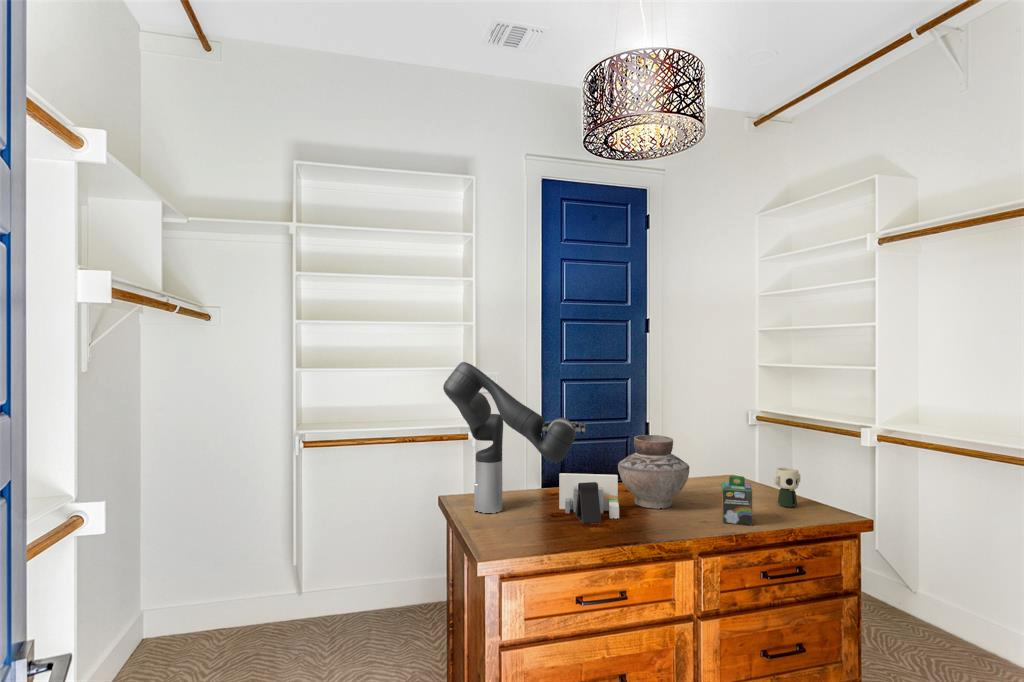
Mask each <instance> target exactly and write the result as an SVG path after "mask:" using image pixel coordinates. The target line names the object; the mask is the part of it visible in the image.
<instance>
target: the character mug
mask: <svg viewBox="0 0 1024 682" xmlns="http://www.w3.org/2000/svg"><path fill="white" fill-rule="evenodd" d="M773 480H774V485H776V486H777V487H778V488H780V489H779V491H778V497H777V498H778V499H777V504H779V505H781V506H782V507H787V508H789V507H790V508H794V507H798V501H797V493H796V491H795V490H797V489H798V488H799V486H800V485H799V484H800V483H801V474H800V473H799V470H798V469H796V468H793V467H785V466H784V467H777V468H776V473H775V475H774V479H773Z"/></svg>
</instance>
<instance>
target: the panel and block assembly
mask: <svg viewBox="0 0 1024 682" xmlns="http://www.w3.org/2000/svg"><path fill="white" fill-rule="evenodd" d="M558 474H559V475H558V476H559V477H558V478H559V479H558V480H559V486H558V487H559V489H558V491H559V493H558V494H559V495H558V497H559V499H558V501H559V502H558V503H559V505H558V506H559V507H558V508H559V510H564V511H565V512H564V513H565V514H571V510H573V511H574V487H578V484H579V483H587V482H596V483H598V487H602V488H603V495H607V496H618V498H603V512H604V511H606V512H608V515H609V519H613V518H614V519H617V518H618V519H620V505H619V504H620V503H619V494H618V491H619V490H618V489H619V486H618V485H619V483H618V481H619V480H618V479H619V476H618V474H604V473H603V474H599V473H598V474H594V473H564V472H563V473H562V472H560V473H558Z"/></svg>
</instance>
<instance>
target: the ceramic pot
mask: <svg viewBox="0 0 1024 682" xmlns="http://www.w3.org/2000/svg"><path fill="white" fill-rule="evenodd" d="M673 446H674V439H673V437H668V436H664V435H660V434H659V435H657V434H643V435H641V434H640V435H636V436H634V437H633V449H634V451H635V452H634V453H631V454H630V455H628V456H626V457H625V458H624V459H622V460H620V461H619V462H618V464H617V471H618V473H619V475H620V476H619V477H620V480H621V481H622V483H623V485H624V486H625V488H626V489H627V490H628V491H629V492H630V493H631V494H632V495H633V496H634V503H635V505H636V506H639V507H642V508H647V509H655V510H657V509H659V510H660V508H662V509H668V508H670V507H671V506H672V502H673V501H672V499H673V498H675V497H676V496H677V495H678V494H680V492H681V491H682V490H683V488H684V487H685V485H686V483H687V482H688V478H689V475H690V465H689V464H688V463H687V462H685V461H684V460H683V459H681V458H680V457H678V456H676V455H675V454H672V452H673V449H674V447H673Z"/></svg>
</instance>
